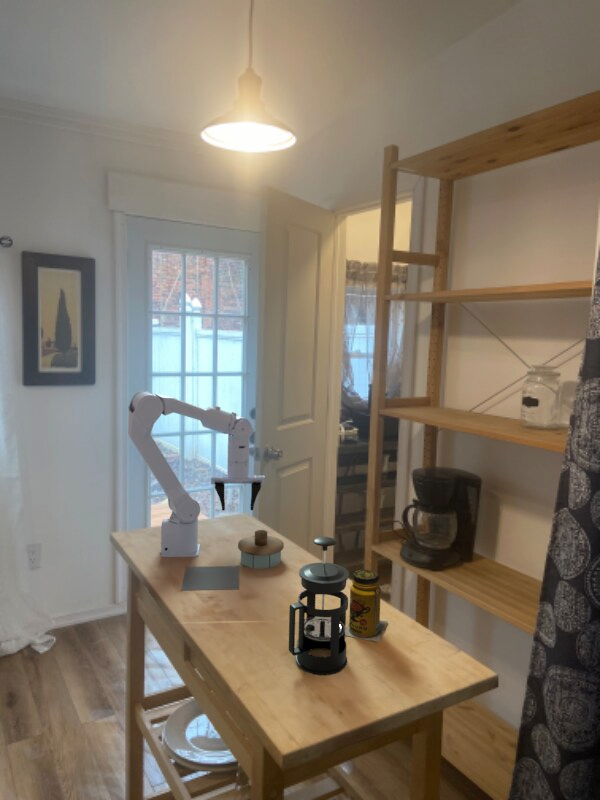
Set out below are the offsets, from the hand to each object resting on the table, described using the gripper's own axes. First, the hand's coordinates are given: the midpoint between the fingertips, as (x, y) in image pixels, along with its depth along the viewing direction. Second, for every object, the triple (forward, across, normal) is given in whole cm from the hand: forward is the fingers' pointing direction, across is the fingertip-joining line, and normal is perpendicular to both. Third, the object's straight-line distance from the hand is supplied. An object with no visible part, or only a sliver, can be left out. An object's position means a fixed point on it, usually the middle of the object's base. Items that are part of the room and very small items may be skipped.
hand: (237, 509), depth 163 cm
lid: (+6, +6, -12) cm, 15 cm away
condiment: (+10, +26, -47) cm, 55 cm away
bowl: (+10, +6, -12) cm, 17 cm away
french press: (+10, +15, -58) cm, 61 cm away
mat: (+10, -6, -22) cm, 25 cm away
